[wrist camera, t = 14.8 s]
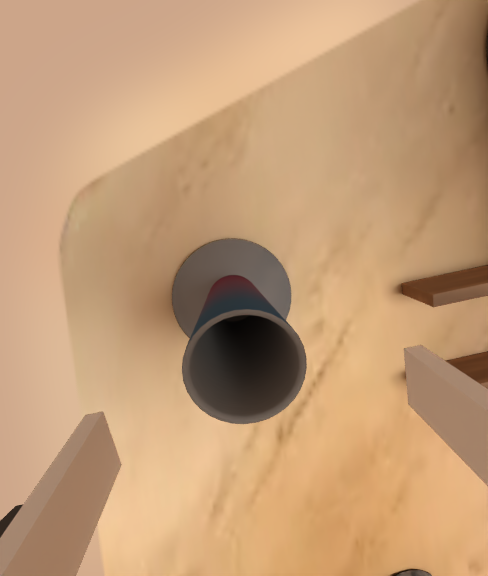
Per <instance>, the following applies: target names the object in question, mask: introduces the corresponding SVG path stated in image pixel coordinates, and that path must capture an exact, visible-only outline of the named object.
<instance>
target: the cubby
mask: <svg viewBox="0 0 488 576" xmlns="http://www.w3.org/2000/svg"><path fill="white" fill-rule="evenodd" d="M402 292H403V294H404V295H406V296H408V297H411V298H413V299H416V300H418V301H420V302H423V303H425V304H427V305H430V306H432V307H437V306H441V305H446V304H451V303H455V302H460V301H464V300H469V299H474V298H478V297H483V296H488V265H485V266H481V267H476V268H471V269H467V270H462V271H457V272H453V273H448V274H443V275H438V276H434V277H429V278H424V279H420V280H415V281H410V282H406V283H402ZM446 362H448V363H449V364H451V365H452V366H454V367H455V368H457V369H458V370H460V371H461V372H463V373H464V374H466V375H467V376H469V377H470V378H472V379H473V380H475V381H476V382H478V383H479V384H481V385H482V386H484V387H485V388H487V389H488V352H484V353H479V354H475V355H470V356H466V357H461V358H457V359H452V360H448V361H446Z"/></svg>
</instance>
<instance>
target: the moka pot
mask: <svg viewBox="0 0 488 576" xmlns="http://www.w3.org/2000/svg"><path fill="white" fill-rule="evenodd" d="M396 576H432V575H431V574H429V573H427V572H424V571H421V570H409V571H405V572H402V573H399V575H396Z"/></svg>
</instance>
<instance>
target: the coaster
mask: <svg viewBox="0 0 488 576" xmlns="http://www.w3.org/2000/svg"><path fill="white" fill-rule="evenodd" d="M228 275H239V276H242V277H245V278H246V279H248V280H249V281H250V282H252V284H253V285H254V286H255V287H256V288H257V289H258V290H259V291H260V292H261V294H262V295H263V296H264V297H265V298H266V299H267V300H268V301H269V303H270V304H271V305H272V306H273V307H274V308H275V309H276V310H277V311H278V313H279V314H280V315H281V316H282V317H283V318H284V319H285V320H286V318H287V316H288V313H289V310H290V304H291V287H290V283H289V279H288V276H287V274H286V271H285V270H284V268H283V266H282V265H281V263H280V262H279V261H278V259H277V258H276V257H275V256H274V255H273V254H272V253H270V252H269V251H268V250H267V249H265V248H263V247H262V246H260V245H258V244H256V243H253V242H251V241H247V240H243V239H221V240H217V241H213V242H211V243H208V244H206V245H204V246H202V247H200V248H199V249H197V250H196V251H195V252H193V253H192V254H191V255H190V256H189V257H188V258H187V259H186V261H185V262H184V263H183V265H182V266H181V268H180V269H179V271H178V273H177V275H176V278H175V281H174V285H173V290H172V305H173V310H174V314H175V317H176V319H177V321H178V323H179V325H180V327H181V328H182V330H183V331H184V333H185V334H186V335H187V336H188V337H189V338H190V337H191V335H192V333H193V330H194V328H195V325H196V323H197V321H198V318H199V316H200V313H201V311H202V308H203V306H204V304H205V301H206V299H207V296H208V294H209V292H210V289H211V288H212V286H213V285H214V283H215V282H216V281H218V280H219V279H220V278H222V277H225V276H228Z"/></svg>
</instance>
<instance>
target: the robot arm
mask: <svg viewBox="0 0 488 576" xmlns="http://www.w3.org/2000/svg"><path fill="white" fill-rule="evenodd" d="M487 62H488V35H487ZM404 357H405V369H406V382H407V394H408V404H409V405H410V406H411V407H412V408H413V409H414V410H415V412H416V413H417V414H418V415H419V416H420V417H421V418H422V419H423V420H424V421H425V422H426V423H427V424H428V425H429V426H430V427H431V428H432V429H433V430H434V431H435V432H436V433H437V434H438V435H439V436H440V437H441V438H442V439H443V440H444V441H445V442H446V444H447V445H448V446H449V447H450V448H451V449H452V450H453V451H454V452H455V453H456V454H457V455H458V456H459V457H460V458H461V459H462V460H463V461H464V462H465V463H466V464H467V465H468V466H469V467H470V468H471V469H472V470H473V471H474V472H475V473H476V474H477V476H478V477H479V478H480V479H481V480H482V481H483V482H484V483H485V484H486V485H487V486H488V389H487V388H485V387H484V386H482V385H481V384H479V383H478V382H476V381H475V380H473V379H472V378H470V377H469V376H467V375H466V374H464V373H463V372H461V371H460V370H458V369H457V368H455V367H454V366H452V365H451V364H449V363H448V362H446V361H445V360H443V359H442V358H440V357H439V356H437V355H436V354H434V353H433V352H431V351H430V350H428V349H427V348H425V347H424V346H422V345H418V346H414V347H409V348H404ZM120 467H121V462H120V459H119V456H118V453H117V450H116V447H115V444H114V442H113V439H112V436H111V433H110V430H109V427H108V424H107V421H106V418H105V416H104V413H103V412H98V413H93V414H88V415H85V416H84V418H83V419H82V421H81V422H80V424H79V425H78V426H77V428H76V429H75V431H74V432H73V434H72V435H71V437H70V438H69V439H68V441H67V442H66V444H65V445H64V447H63V448H62V450H61V451H60V452H59V454H58V455H57V457H56V458H55V460H54V461H53V462H52V464H51V465H50V467H49V468H48V470H47V471H46V473H45V474H44V475H43V477H42V478H41V480H40V481H39V483H38V484H37V486H36V487H35V488H34V490H33V491H32V493H31V495H30V496H29V497H28V499H27V500H26V502H25V503H24V504H23V505H18V506H15V507H14V509H12V510H11V511H10V512H9V513H8V514H7V515H6V516H5V517H4V518H3V519H2V520H1V521H0V576H76V574H77V572H78V569H79V567H80V565H81V562H82V560H83V557H84V555H85V552H86V550H87V547H88V545H89V543H90V540H91V538H92V535H93V533H94V530H95V528H96V526H97V523H98V521H99V518H100V516H101V513H102V511H103V509H104V506H105V504H106V501H107V499H108V496H109V494H110V492H111V489H112V487H113V484H114V482H115V479H116V477H117V474H118V472H119V470H120Z"/></svg>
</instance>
